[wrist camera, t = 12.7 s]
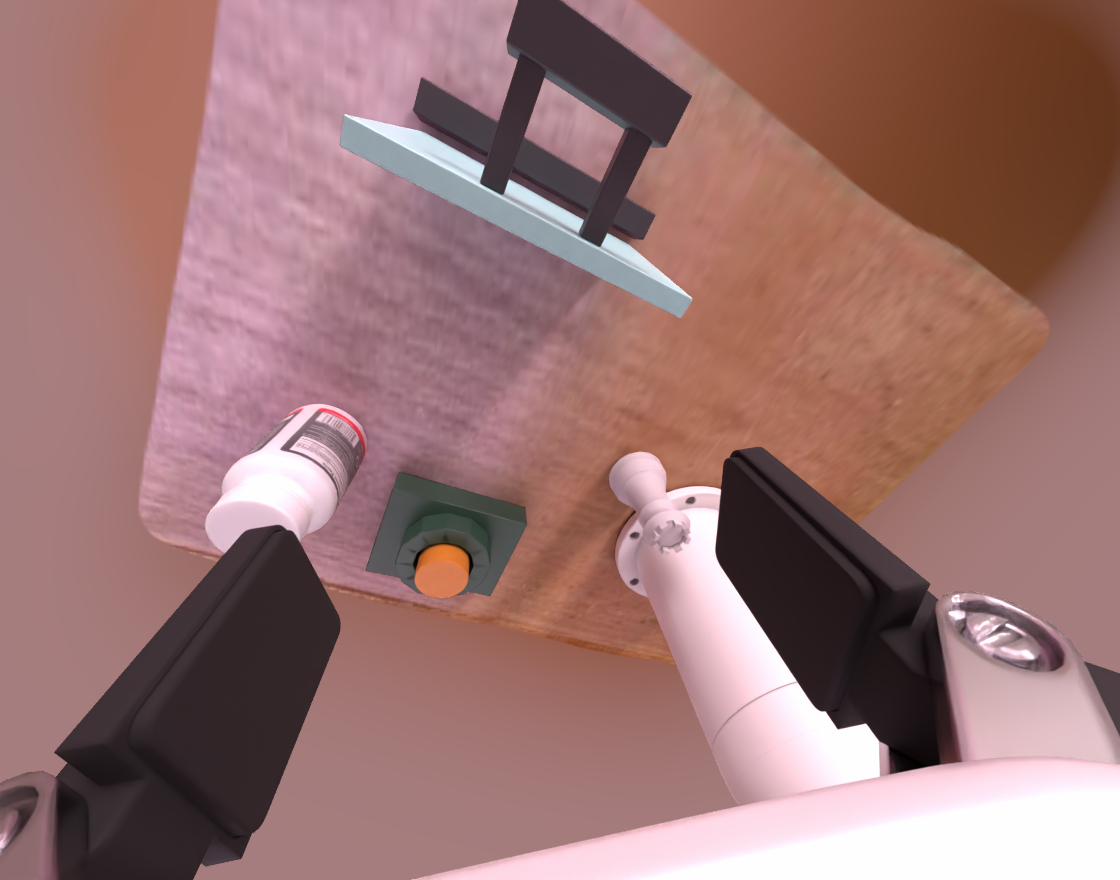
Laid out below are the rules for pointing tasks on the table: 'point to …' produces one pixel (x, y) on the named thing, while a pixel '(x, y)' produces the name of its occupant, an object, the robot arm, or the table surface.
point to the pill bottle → (290, 476)
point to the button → (442, 570)
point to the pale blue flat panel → (485, 190)
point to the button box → (445, 531)
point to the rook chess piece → (650, 501)
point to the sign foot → (522, 156)
